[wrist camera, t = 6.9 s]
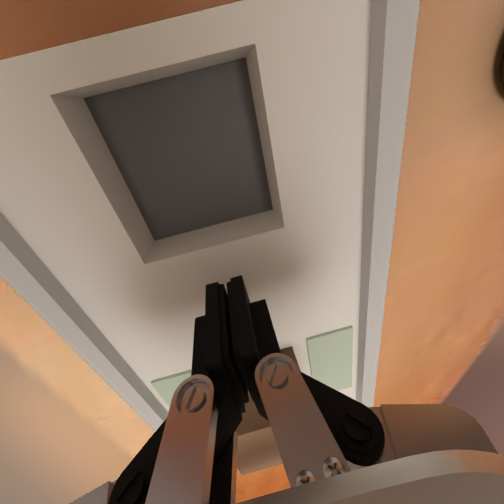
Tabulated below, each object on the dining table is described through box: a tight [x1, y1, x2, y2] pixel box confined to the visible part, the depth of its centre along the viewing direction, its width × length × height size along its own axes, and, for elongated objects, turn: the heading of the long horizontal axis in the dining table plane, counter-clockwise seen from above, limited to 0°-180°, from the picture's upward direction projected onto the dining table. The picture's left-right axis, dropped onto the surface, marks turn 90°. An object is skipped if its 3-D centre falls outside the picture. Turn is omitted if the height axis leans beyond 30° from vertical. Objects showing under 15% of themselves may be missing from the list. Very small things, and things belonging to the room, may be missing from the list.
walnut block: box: [237, 346, 301, 475], centre depth 15 cm, size 5×5×4 cm
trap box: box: [0, 0, 420, 432], centre depth 15 cm, size 30×16×3 cm, turn 13°
